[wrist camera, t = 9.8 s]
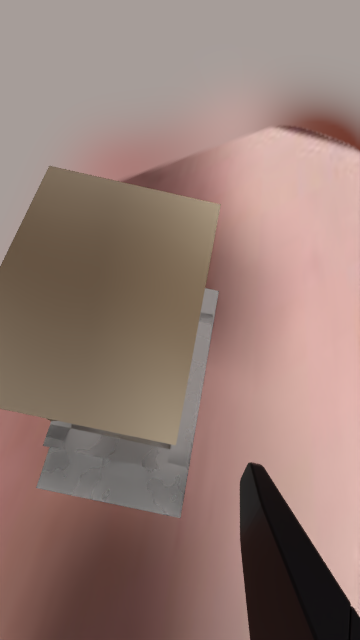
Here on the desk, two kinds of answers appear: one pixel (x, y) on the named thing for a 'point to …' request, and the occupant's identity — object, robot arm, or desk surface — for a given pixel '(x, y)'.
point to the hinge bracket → (131, 449)
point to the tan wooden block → (104, 304)
